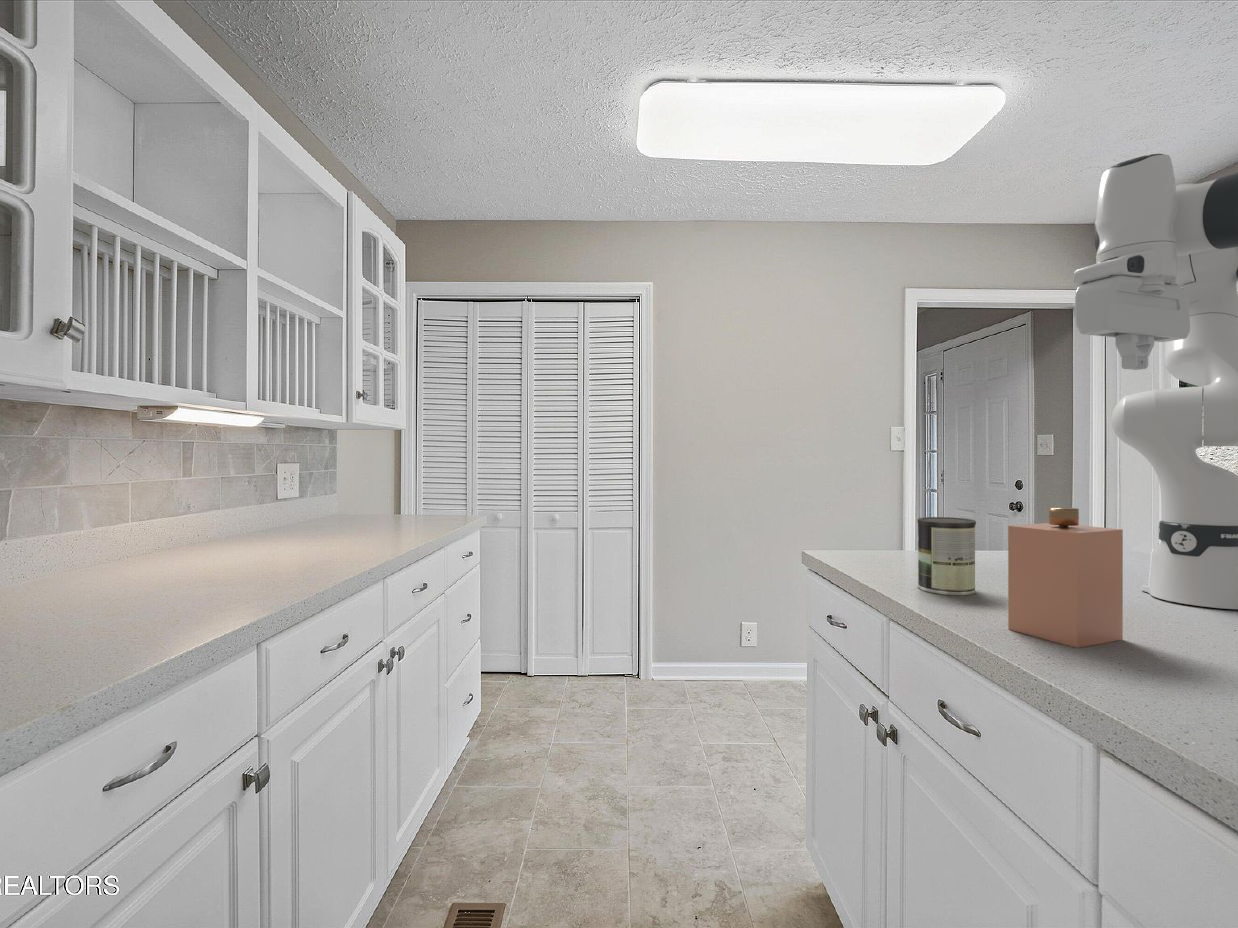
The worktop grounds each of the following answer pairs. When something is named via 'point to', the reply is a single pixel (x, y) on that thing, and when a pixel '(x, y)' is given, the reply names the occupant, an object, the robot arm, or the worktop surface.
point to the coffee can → (946, 555)
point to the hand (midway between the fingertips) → (1134, 369)
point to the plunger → (1064, 517)
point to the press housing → (1066, 583)
